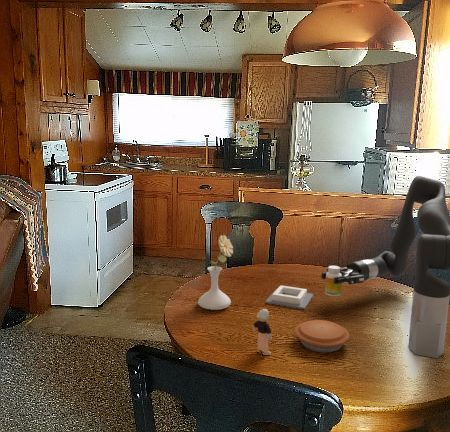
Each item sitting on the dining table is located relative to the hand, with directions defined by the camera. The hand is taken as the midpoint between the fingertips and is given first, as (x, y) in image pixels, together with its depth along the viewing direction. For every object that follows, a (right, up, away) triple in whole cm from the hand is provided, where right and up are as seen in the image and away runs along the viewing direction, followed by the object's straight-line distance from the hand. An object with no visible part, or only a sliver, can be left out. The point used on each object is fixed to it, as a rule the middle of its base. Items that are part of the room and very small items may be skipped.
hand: (328, 278), depth 159 cm
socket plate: (-12, -9, +8) cm, 17 cm away
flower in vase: (-39, -10, +2) cm, 40 cm away
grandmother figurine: (-25, -17, -30) cm, 42 cm away
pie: (-8, -16, -24) cm, 30 cm away
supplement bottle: (+2, -6, +3) cm, 7 cm away
